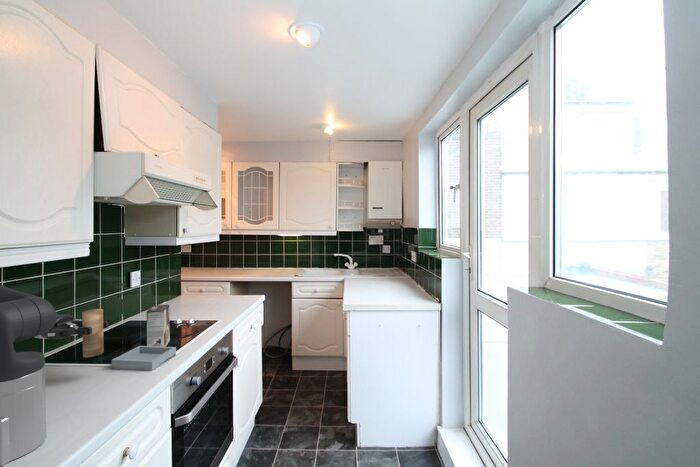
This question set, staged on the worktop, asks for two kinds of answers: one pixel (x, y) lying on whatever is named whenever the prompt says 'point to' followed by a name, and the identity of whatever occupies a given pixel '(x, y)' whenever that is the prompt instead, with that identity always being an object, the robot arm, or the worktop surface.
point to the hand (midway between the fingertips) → (99, 327)
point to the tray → (144, 358)
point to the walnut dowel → (93, 332)
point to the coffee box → (158, 326)
